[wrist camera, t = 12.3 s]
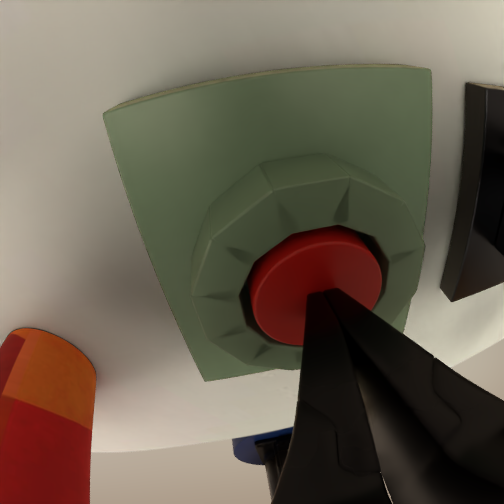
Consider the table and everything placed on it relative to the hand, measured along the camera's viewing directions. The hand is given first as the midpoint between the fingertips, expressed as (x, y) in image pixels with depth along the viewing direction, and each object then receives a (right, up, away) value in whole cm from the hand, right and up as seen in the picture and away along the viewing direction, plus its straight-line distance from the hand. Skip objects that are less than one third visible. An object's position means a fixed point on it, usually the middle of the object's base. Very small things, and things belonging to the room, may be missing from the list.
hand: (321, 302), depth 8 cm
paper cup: (-13, -4, +6) cm, 14 cm away
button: (0, +1, +1) cm, 2 cm away
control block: (-1, +2, +3) cm, 4 cm away
